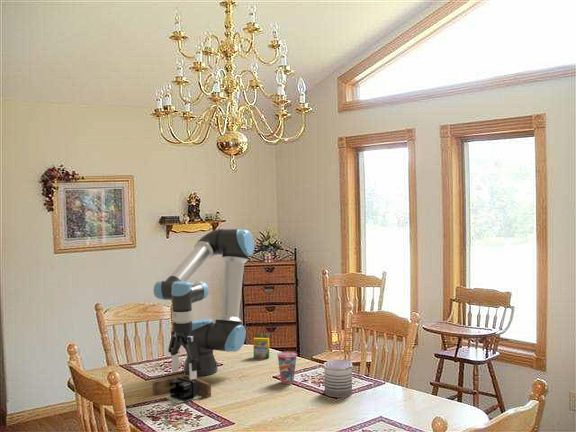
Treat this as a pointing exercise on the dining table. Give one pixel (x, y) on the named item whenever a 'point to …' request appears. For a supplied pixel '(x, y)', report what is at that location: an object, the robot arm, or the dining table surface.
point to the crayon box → (261, 346)
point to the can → (338, 378)
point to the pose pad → (181, 400)
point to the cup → (287, 366)
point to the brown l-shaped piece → (164, 387)
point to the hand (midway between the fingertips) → (184, 374)
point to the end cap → (183, 389)
